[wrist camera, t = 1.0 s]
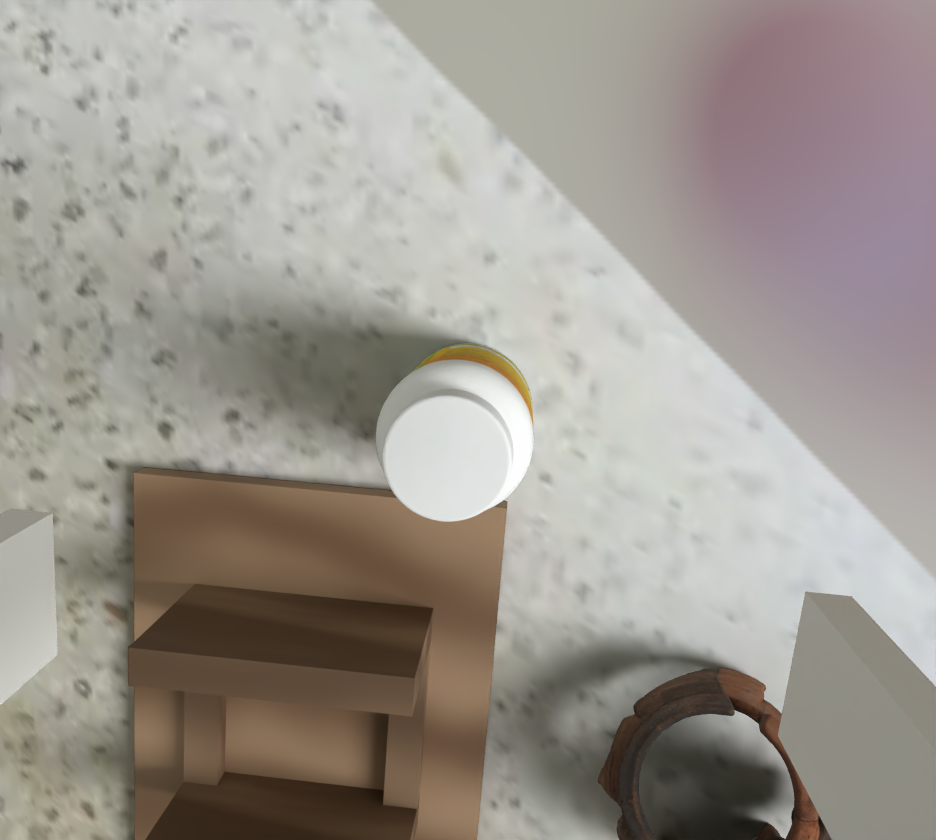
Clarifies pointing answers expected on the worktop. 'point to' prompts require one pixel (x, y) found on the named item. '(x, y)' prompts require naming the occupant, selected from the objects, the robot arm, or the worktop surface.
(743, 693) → the pottery mug
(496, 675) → the worktop surface
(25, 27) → the worktop surface
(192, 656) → the wooden cradle tray
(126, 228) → the worktop surface
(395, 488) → the supplement bottle
